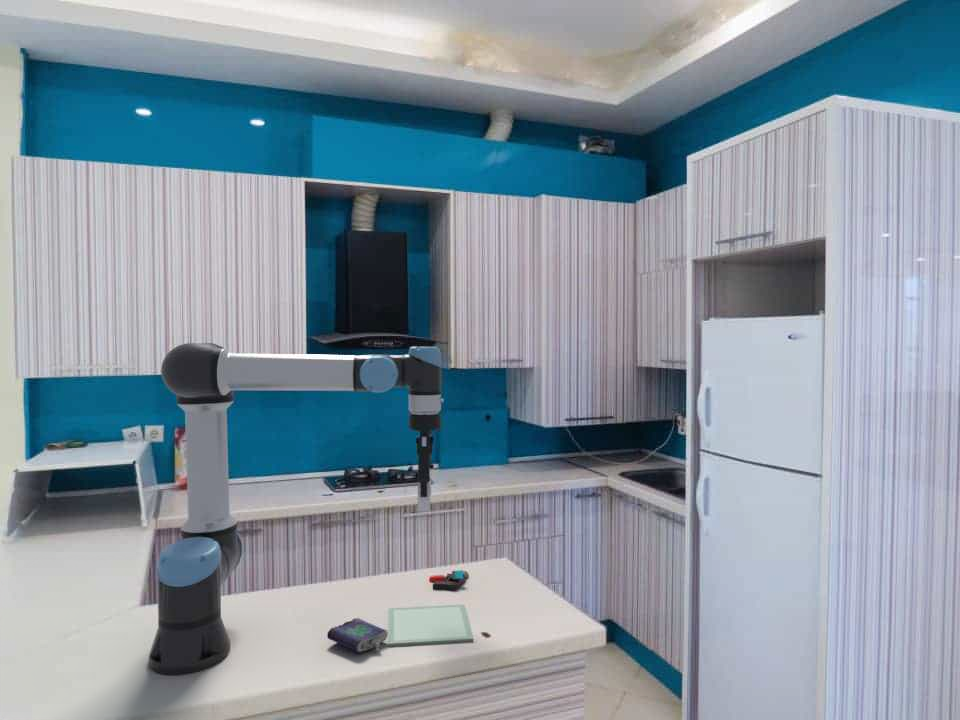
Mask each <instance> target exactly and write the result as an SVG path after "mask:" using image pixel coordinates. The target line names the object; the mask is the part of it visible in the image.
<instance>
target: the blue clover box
mask: <svg viewBox="0 0 960 720" xmlns="http://www.w3.org/2000/svg"><path fill="white" fill-rule="evenodd" d="M326 635H327V637H326V638H327V639H328V640H329V641H333V642H335V643H337V644H340V645H343V646H344V647H347V648H349V649H351V650H353V651H354V652H357V653H360V652H366V651H369V650H372V649H374V648H376V649H375V650H376V651H379V650H380V649H381V647H380V646H381V643H383V642H384V641H386V639H388V631H387V629H384V628H382V627H379V626H377V625H375V624H372V623H370V622H368V621H366V620H364V619H361V618H360V617H356V618H353V619H352V620H350V621H345V622H344V623H343V624H339V625H338V626H334V627H331V628H330V629H329V630H328V631H327V634H326Z"/></svg>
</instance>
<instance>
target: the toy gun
mask: <svg viewBox="0 0 960 720" xmlns="http://www.w3.org/2000/svg"><path fill="white" fill-rule="evenodd" d="M469 576H470V575H469V572H468V571H466V570H462V569H461V570H460V569H459V570H451V573H446V575H444V574H438V575H437V574H436V575H435V574H434V575H430V576H429V579H428V581H429V582H430V583H432V590H433V591H434V590H435V591H437V590H439V591H440V590H442V591H451V592H455V591H457V590H458V589H459V588H460V587H461V586H462V585H463V584H464V583H465V581H466V580H467V579H468V578H469Z"/></svg>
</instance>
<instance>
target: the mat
mask: <svg viewBox="0 0 960 720" xmlns="http://www.w3.org/2000/svg"><path fill="white" fill-rule="evenodd" d="M470 625H471V624H470V621H469V617H468V613H467V610H466V606H465V604H464V603H463V604H462V603H461V604H448V605H446V604H445V605H430V606H429V605H427V606H408V607H406V606H405V607H390V608H388V626H387V627H388V631H387V633H388V635H387V647H390V648H391V647H404V646H419V645H437V644H451V643H452V644H453V643H455V644H456V643H470V642H474V637H473V632H472V628H471V626H470Z"/></svg>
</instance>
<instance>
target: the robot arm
mask: <svg viewBox="0 0 960 720" xmlns="http://www.w3.org/2000/svg"><path fill="white" fill-rule="evenodd" d="M407 353H408V354H402V355H401V354H400V355H399V354H374V353H373V354H372V353H371V354H362V355H353V354H351V355H349V354H347V355H346V354H345V355H344V354H343V355H342V354H340V355H339V354H293V353H292V354H283V353H281V354H280V353H278V354H277V353H231V352H230V351H229V349H227V348H226V347H224V346H222V345H219V344H217V343H214V342H211V343H210V342H201V343H200V342H199V343H198V342H197V343H196V342H189V343H183V344H179V345H177V346H176V347H174V348H172V349H171V350H169V352H168V353H166V355H165V357H164V359H163V361H162V363H161V367H160V368H161V369H160V374H161V378H162V380H163V381H162V382H163V383H164V385H165V386H166V387H167V389H168V390H169V391H170V392H171V393H172V394H175V395H176V404H177V406H178V407H179V408H180V409H182V411H184V419H185V421H184V423H185V449H186V450H185V456H186V484H187V486H186V487H187V488H186V491H187V519H186V521H185V522H183V523H182V525H181V526H180V536H181V537H180V540H178V541H174V542H172V543H169V545H167V546H165V548H163V549H162V550H161V552H160V553H159V555H158V559H157V562H158V563H157V566H156V568H157V569H156V576H157V616H158V618H157V619H158V623H157V624H158V627H157V630H156V633H155V636H154V640H153V643H152V644H151V645H152V646H151V649H150V650H149V651H150V652H149V655H148V667H149V670H151V671H152V672H153V673H155V674H158V675H160V676H166V677H167V676H168V677H170V676H171V677H172V676H174V677H176V676H185V675H191V674H195V673H199V672H203V671H205V670H207V669H210V668H213V667H215V666H217V665H218V664H219V663H222V661H224V660H225V659H227V657H228V655H230V652H231V641H230V637H229V634H228V631H227V629H226V626H225V624H224V621H223V618H222V608H221V607H222V600H221V599H222V597H221V596H222V593H221V592H222V585H223V584H224V583H225V582H226V580H227V579H228V578H229V577H230V576H231V574H232V573H233V572H234V571H235V570H236V569H237V568H238V566H239V564H240V561H241V559H242V554H243V550H244V549H243V546H244V545H243V540H242V537H241V535H240V533H239V532H238V521H237V518H235V517H234V516H232V515H231V512H230V486H229V485H230V484H229V455H228V453H229V451H228V449H229V448H228V447H229V446H228V420H227V419H228V418H227V417H228V416H227V415H228V414H227V411H228V408H229V407H231V405H232V404H234V391H283V392H284V391H298V392H299V391H300V392H301V391H313V392H314V391H315V392H316V391H317V392H319V391H320V392H323V391H324V392H334V391H335V392H372V393H376V394H377V393H378V394H379V393H386V392H388V391H390V390H391V389H392V388H408V411H409V412H410V413H409V414H408V428H409V430H410V431H415V432H417V431H419V436H416V440H415V445H416V455H417V456H418V458H417V459H418V463H417V464H418V465H417V467H418V468H417V478H414V483H417V512H430V511H431V497H432V469H433V470H434V469H435V466H434V465H435V464H433V463H432V455H433V447H434V436H431V434H432V432H433V431H434V432H435V431H439V430H441V428H442V414H441V413H440V411H441V410H442V404H441V403H444V400H445V399H444V398H443V397H442V398H441V396H442V351H441V350H440V348H439V347H437V346H410V347H409V349H408V352H407Z"/></svg>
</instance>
